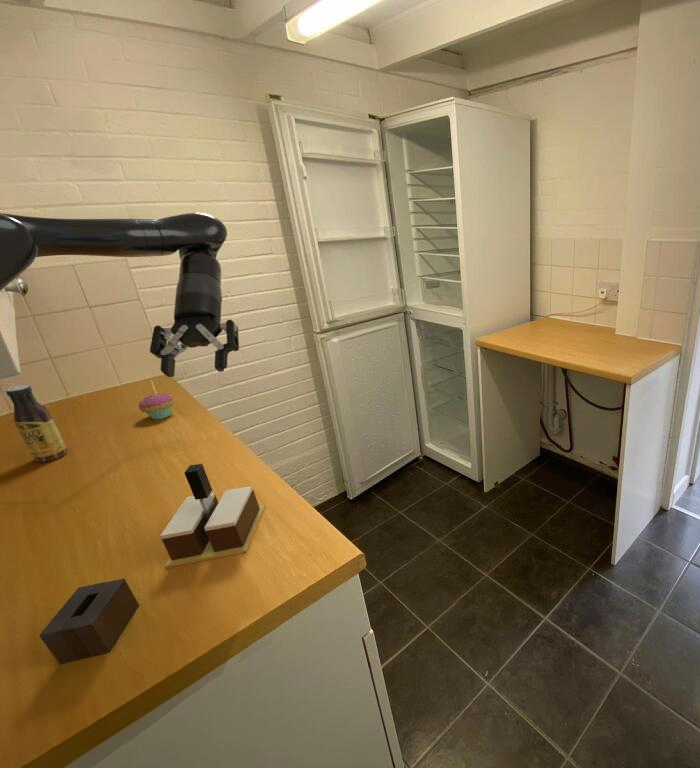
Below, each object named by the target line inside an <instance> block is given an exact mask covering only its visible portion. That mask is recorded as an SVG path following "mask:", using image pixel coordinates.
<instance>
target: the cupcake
mask: <svg viewBox="0 0 700 768" xmlns="http://www.w3.org/2000/svg"><path fill="white" fill-rule="evenodd" d="M149 384H150V387H151V389H152V394H151V395H147V396H145V397H143V398H142V399H141V400H140V402H139V403H138V409H139V410H140V411H141V412H142V413H146V414H147V415H148V416H149V417H150V418H151V419H152V420H161V419H165V418H167V417H169V416H171V415H172V405H174V404H175V399H174V397H173V395H170V394H168V393H160V392H159V393H158V392H157V390H156V387H155V384H154V381H153V380H152V378H151V377H150V378H149Z"/></svg>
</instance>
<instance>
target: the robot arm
mask: <svg viewBox="0 0 700 768" xmlns="http://www.w3.org/2000/svg"><path fill="white" fill-rule="evenodd" d="M227 236H228V229H227V227H226V225H225V224H224V223H223V221H221V220H220V219H218V218H217V217H215V216H213V215H211V214H207V213H204V212H203V213H202V212H188V213H187V212H186V213H181V214H175V215H169V216H166V217H161V218H54V217H53V218H52V217H38V216H37V217H36V216H27V215H18V214H11V213H4V212H0V292H2V291H3V290H4V289H5V288H6V287H7V286H8V285H9V284H11V283H12V282H13V281H15V280H16V279H17V278H18V277H19V276H20V275H21V274H23V273H24V272H25V271H26V270H28V268H30V266H32V264H33V263H34V262H35V260H36V258H42V257H55V256H88V257H89V256H91V257H109V258H149V257H166V256H171V255H174V254H175V253H177V252H178V255H179V261H180V264H179V272H178V281H177V284H176V290H175V297H174V298H175V300H174V311H173V320H174V321H173V322H174V323H173V325H172V326H171V327H162V326H161V325H155V326H154V327H153V331H152V336H151V340H150V341H151V342H150V347H149V352H150V354H152V355H153V356H155V357H156V358H158V359H160V372H161V373H163V375H164V376H166V377H167V378H174V377H175V372H176V371H175V370H176V358H177V357H178V356H179V355H180V354H181V353H184V352H185V351H186V350H187V349H188V348H190V349H192V348H193V349H194V348H197V347H208V346H209V345H210V344H212V345H213V347H214V348H216V349H217V350H215V351H214V353H215V354H214V370H216V371H218V373H222V372H225V369H227V367H228V355H229V353H231V352H238V351H239V350H240V339H239V338H240V337H239V326H238V325H237V324H236V323H235V321H233V319H227V320H226V322H222V321H221V320H222V303H223V296H222V295H223V294H222V286H221V285H222V267H221V264H220V262H219V260H217V255H218V252H219V251H220V249H221V248H222V246H223V245H224V243H225V242H226V240H227ZM221 322H222V323H221ZM223 331H224V333H226V343H222V342H220V340H219V339H217V337H218V336H219V335H220V334H221V333H222V332H223ZM172 335H173V336H172ZM171 336H172V337H171ZM179 342H180V344H179Z"/></svg>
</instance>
